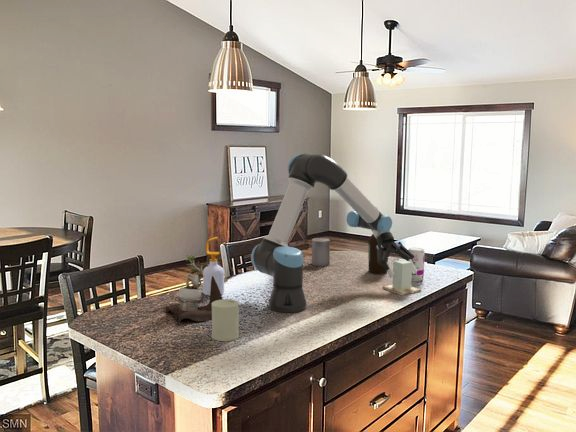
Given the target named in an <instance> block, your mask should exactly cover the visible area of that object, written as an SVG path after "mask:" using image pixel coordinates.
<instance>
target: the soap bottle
mask: <svg viewBox="0 0 576 432" xmlns="http://www.w3.org/2000/svg"><path fill="white" fill-rule="evenodd" d="M218 238H219V237H218V236H215V237H212V238H209V239H207V240H206V243H205V253H206V254H207V255H210V257H211V258H209V264H208V267H205V268H204V267H203V268H204V269H202V274H203V275H204V277H202V293H203V295H205V296H209V297H210V292H211V279H212V276H213V277H214V279H215V281H216V283H217V285H218V288H219V290H220V293H221V295H224V293H225V270H224V268H223V267H222V266H221V265H219V264H218V258H216V257H217V256H218V255H220V252H219V251H210V249H209V246H210V245H209V243H210V242H211V241H215V240H218Z"/></svg>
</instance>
